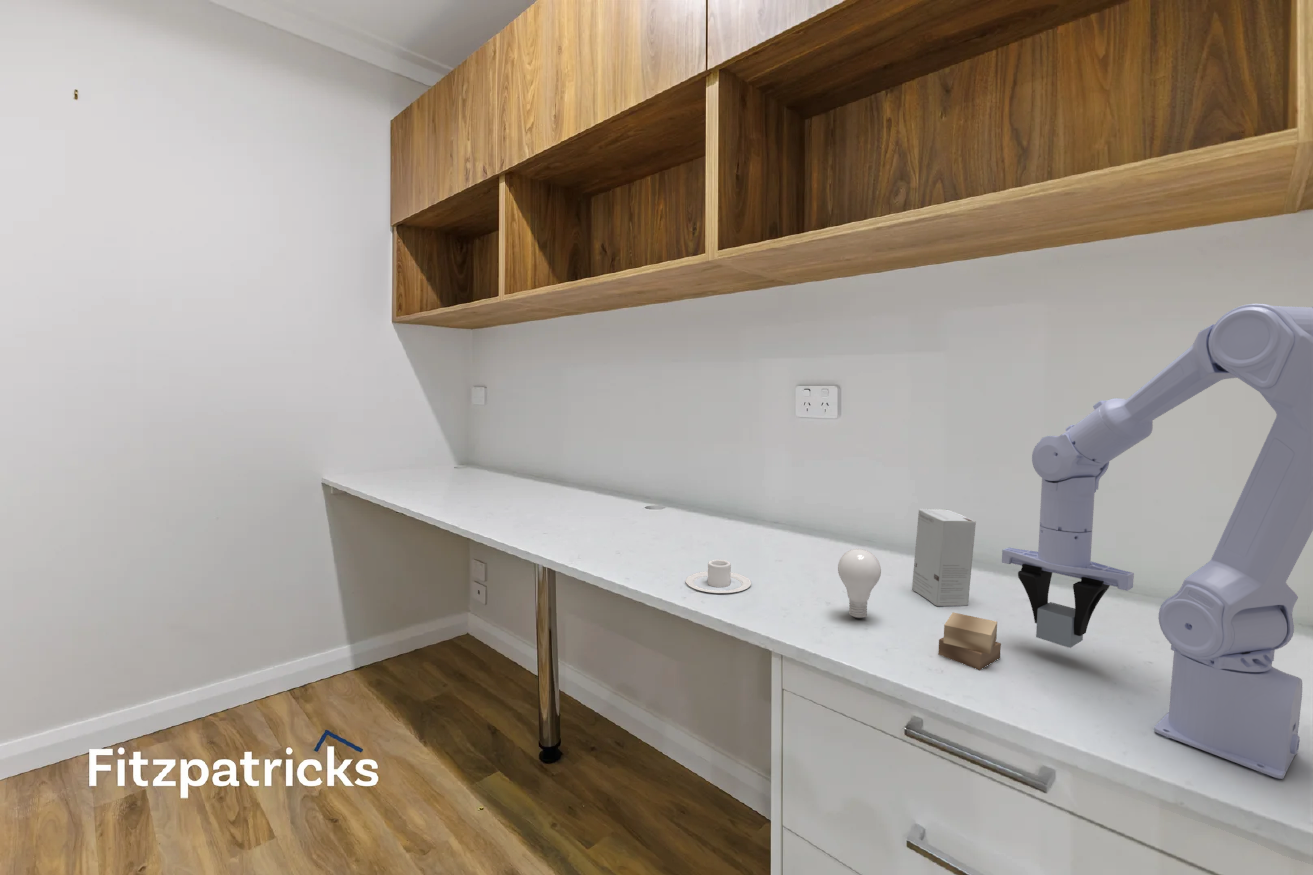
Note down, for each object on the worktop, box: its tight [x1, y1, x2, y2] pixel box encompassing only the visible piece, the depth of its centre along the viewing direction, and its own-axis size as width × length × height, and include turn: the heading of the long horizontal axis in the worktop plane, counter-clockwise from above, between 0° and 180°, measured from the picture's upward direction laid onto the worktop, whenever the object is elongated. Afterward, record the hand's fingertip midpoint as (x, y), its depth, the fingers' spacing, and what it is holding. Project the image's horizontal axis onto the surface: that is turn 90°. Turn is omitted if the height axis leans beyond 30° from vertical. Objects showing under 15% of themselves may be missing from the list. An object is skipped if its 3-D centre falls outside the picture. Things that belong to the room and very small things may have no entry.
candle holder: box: [684, 559, 752, 594], centre depth 109 cm, size 12×12×4 cm
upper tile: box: [943, 611, 998, 654], centre depth 80 cm, size 6×6×2 cm
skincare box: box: [911, 508, 977, 607], centre depth 101 cm, size 8×6×15 cm
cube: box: [1035, 601, 1084, 649], centre depth 79 cm, size 4×4×4 cm
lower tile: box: [938, 636, 1002, 671], centre depth 80 cm, size 6×6×2 cm
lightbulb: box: [837, 548, 882, 620], centre depth 92 cm, size 6×6×11 cm
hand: (1059, 627), depth 79 cm, fingers closed on cube, 4 cm apart
